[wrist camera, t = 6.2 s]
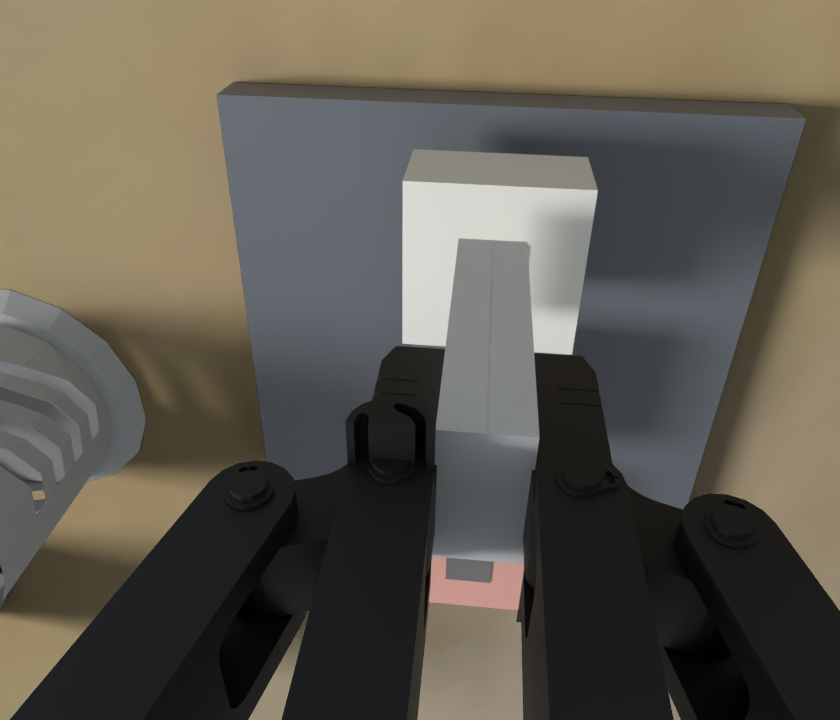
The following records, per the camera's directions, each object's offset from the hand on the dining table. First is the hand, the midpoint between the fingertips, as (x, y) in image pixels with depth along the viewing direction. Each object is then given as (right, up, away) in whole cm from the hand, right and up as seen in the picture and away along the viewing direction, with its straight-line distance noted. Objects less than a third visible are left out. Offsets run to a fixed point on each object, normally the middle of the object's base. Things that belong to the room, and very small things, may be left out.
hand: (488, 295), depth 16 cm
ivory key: (+1, +3, +5) cm, 6 cm away
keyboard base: (+1, -1, +10) cm, 10 cm away
